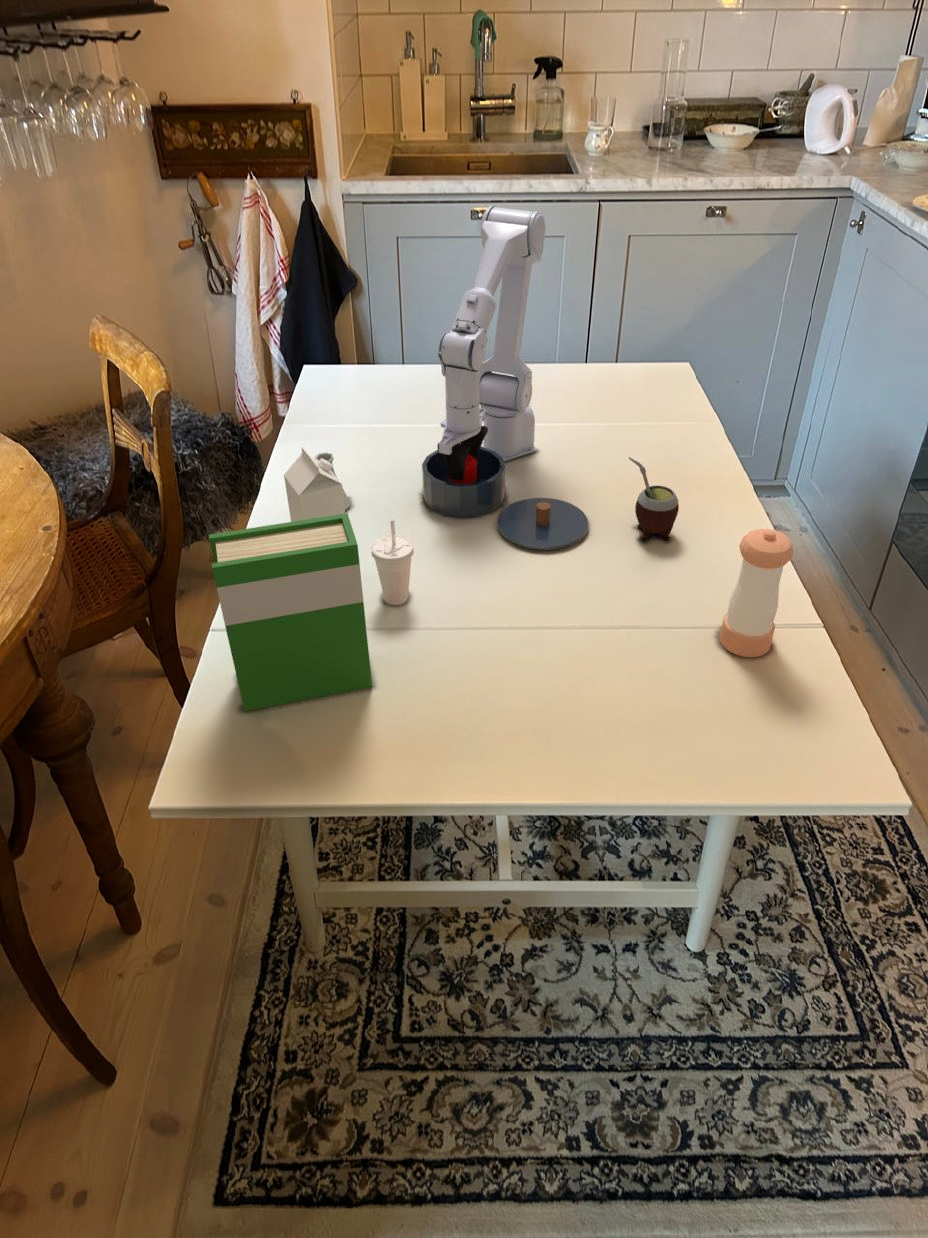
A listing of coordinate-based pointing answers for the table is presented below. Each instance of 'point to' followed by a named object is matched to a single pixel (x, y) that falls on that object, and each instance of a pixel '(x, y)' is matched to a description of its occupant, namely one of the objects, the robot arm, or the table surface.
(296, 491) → the milk carton
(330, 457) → the flask
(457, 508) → the pot
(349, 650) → the hardback book
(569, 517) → the lid
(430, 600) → the table surface
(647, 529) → the mate gourd
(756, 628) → the pepper shaker
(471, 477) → the red pepper
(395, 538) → the smoothie
